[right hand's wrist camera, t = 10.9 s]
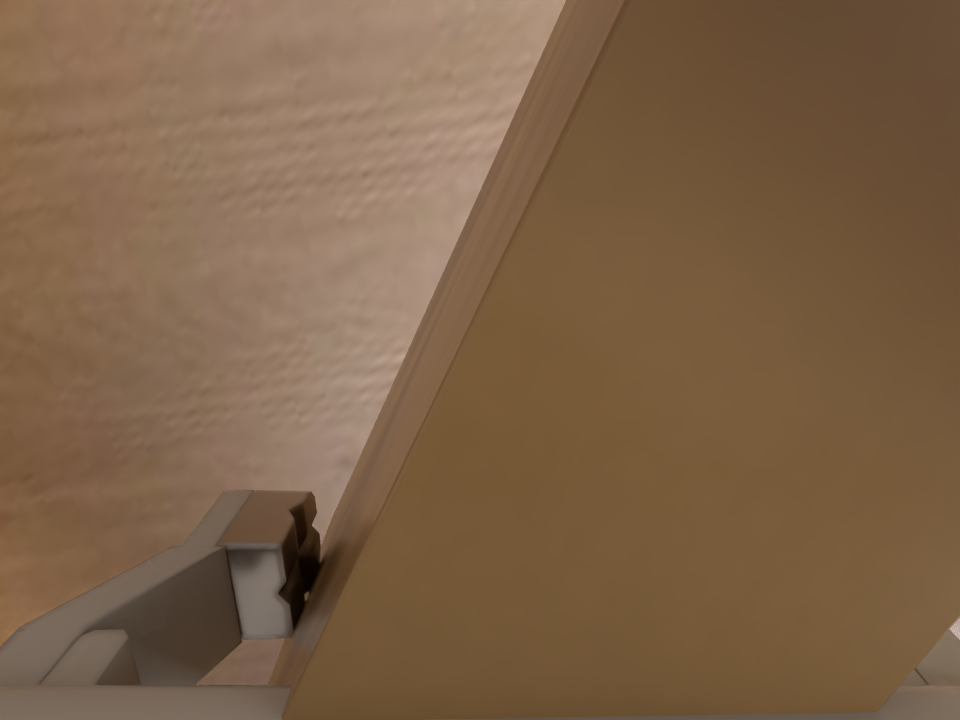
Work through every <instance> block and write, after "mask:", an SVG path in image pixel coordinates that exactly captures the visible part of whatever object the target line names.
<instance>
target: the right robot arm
mask: <svg viewBox="0 0 960 720" xmlns="http://www.w3.org/2000/svg"><path fill="white" fill-rule="evenodd" d="M316 513H317V510H316V503H315V497H314V495H313V494H312V492H310V491H260V490H257V491H254V490H229V491H226V492H223V493H222V494H221V495H220V497H219V498H218V499H217V501H216V502H215V503H214V505H213V506H212V507H211V509H210V510H209V511H208V513H207V514H206V515H205V517H204V518H203V519H202V521H201V522H200V523H199V525H198V526H197V527H196V529H195V530H194V531H193V533H192V534H191V535H190V537H189V538H188V539H187V541H186V542H185V543H184V545H183V546H173V547H171V548H169V549H167V550H165V551H163V552H162V553H160V554H158V555H156V556H154V557H152V558H150V559H148V560H146V561H144V562H143V563H141V564H139V565H137V566H135V567H133V568H131V569H129V570H127V571H125V572H124V573H122V574H120V575H118V576H116V577H114V578H112V579H110V580H108V581H106V582H105V583H103V584H101V585H99V586H97V587H95V588H93V589H91V590H89V591H87V592H86V593H84V594H82V595H80V596H78V597H76V598H74V599H72V600H70V601H68V602H67V603H65V604H63V605H61V606H59V607H57V608H55V609H53V610H51V611H49V612H48V613H46V614H44V615H42V616H40V617H38V618H36V619H34V620H32V621H30V622H29V623H27V624H25V625H23V626H21V627H19V628H18V630H17V631H16V632H15V633H14V634H13V635H12V636H11V637H10V638H9V639H8V640H7V641H6V642H5V643H4V644H3V645H2V646H1V647H0V720H283V719H282V714H283V711H284V708H285V705H286V702H287V699H288V695H289V692H290V688H291V685H195V684H196V683H197V682H198V681H199V680H201V679H202V678H203V677H204V676H205V675H206V674H207V673H208V672H209V671H211V670H212V669H213V668H214V667H215V666H216V665H217V664H218V663H219V662H220V661H222V660H223V659H224V658H225V657H226V656H227V655H228V654H229V653H230V652H232V651H233V650H234V649H235V648H236V647H237V646H238V645H239V644H240V643H241V642H242V640H241V639H270V638H291V637H292V635H293V632H294V630H295V627H296V624H297V622H298V619H299V616H300V614H301V611H302V609H303V606H304V603H305V595H304V594H306V593H307V592H308V591H309V589H310V587H311V584H312V582H313V580H314V577H315V574H316V572H317V569H318V566H319V564H320V536H319V533H318V532H317V531H316V530H315V529H314V527H313V526H312V523H313V520H314V518H315V516H316ZM444 720H960V640H959V639H958V638H957V637H956V636H955V635H954V634H953V633H952V632H951V631H950V630H948V631H947V632H946V633H945V634H944V636H943V637H942V638H941V639H940V640H939V641H938V643H937V644H936V645H935V646H934V647H933V648H932V649H931V651H930V652H929V653H928V654H927V655H926V656H925V657H924V659H923V660H922V661H921V662H920V663H919V664H918V665H917V667H916V668H915V669H914V670H913V671H912V672H911V673H910V675H909V676H908V677H907V678H906V679H905V680H904V681H903V683H902V684H901V685H900V686H899V687H898V688H897V690H896V691H895V692H894V693H893V694H892V695H891V696H890V698H889V699H888V700H887V701H886V702H885V703H884V704H883V706H882V707H881V708H880V709H879V710H878V711H876V712H841V713H784V714H728V715H671V716H614V717H557V718H501V719H444Z"/></svg>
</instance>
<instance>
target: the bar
mask: <svg viewBox="0 0 960 720" xmlns="http://www.w3.org/2000/svg"><path fill="white" fill-rule="evenodd" d="M304 595H305V603H304V606H303V609H302V611H301V614H300V616H299V619H298V622H297V624H296V627H295V630H294V632H293V635H292V637H291V638H286V639H285V642H284V644H283V647H282V649H281V652H280V654H279V657H278V660H277V662H276V665H275V667H274V670H273V673H272V675H271V678H270V680H269V683H268V685H291V688H290V692H289V695H288V699H287V702H286V705H285V708H284V711H283V714H282V719H283V720H444V719H501V718H557V717H614V716H671V715H728V714H784V713H841V712H876V711H878V710H879V709H880V708H881V707H882V706H883V704H884V703H885V702H886V701H887V700H888V699H889V698H890V696H891V695H892V694H893V693H894V692H895V691H896V690H897V688H898V687H899V686H900V685H901V684H902V683H903V681H904V680H905V679H906V678H907V677H908V676H909V675H910V673H911V672H912V671H913V670H914V669H915V668H916V667H917V665H918V664H919V663H920V662H921V661H922V660H923V659H924V657H925V656H926V655H927V654H928V653H929V652H930V651H931V649H932V648H933V647H934V646H935V645H936V644H937V643H938V641H939V640H940V639H941V638H942V637H943V636H944V634H945V633H946V632H947V631H948V630H949V629H950V628H951V626H952V625H953V624H954V623H955V622H956V621H957V620H958V618H959V617H960V0H566V2H565V5H564V7H563V9H562V11H561V13H560V16H559V18H558V20H557V22H556V24H555V27H554V29H553V31H552V33H551V36H550V38H549V40H548V42H547V44H546V47H545V49H544V51H543V53H542V55H541V58H540V60H539V62H538V64H537V66H536V69H535V71H534V73H533V75H532V78H531V80H530V82H529V84H528V86H527V89H526V91H525V93H524V95H523V97H522V100H521V102H520V104H519V106H518V108H517V111H516V113H515V115H514V117H513V120H512V122H511V124H510V126H509V128H508V131H507V133H506V135H505V137H504V139H503V142H502V144H501V146H500V148H499V151H498V153H497V155H496V157H495V159H494V162H493V164H492V166H491V168H490V170H489V173H488V175H487V177H486V179H485V181H484V184H483V186H482V188H481V190H480V193H479V195H478V197H477V199H476V201H475V204H474V206H473V208H472V210H471V212H470V215H469V217H468V219H467V221H466V223H465V226H464V228H463V230H462V232H461V235H460V237H459V239H458V241H457V243H456V246H455V248H454V250H453V252H452V254H451V257H450V259H449V261H448V263H447V265H446V268H445V270H444V272H443V274H442V277H441V279H440V281H439V283H438V285H437V288H436V290H435V292H434V294H433V296H432V299H431V301H430V303H429V305H428V307H427V310H426V312H425V314H424V316H423V319H422V321H421V323H420V325H419V327H418V330H417V332H416V334H415V336H414V338H413V341H412V343H411V345H410V347H409V349H408V352H407V354H406V356H405V358H404V361H403V363H402V365H401V367H400V369H399V372H398V374H397V376H396V378H395V380H394V383H393V385H392V387H391V389H390V391H389V394H388V396H387V398H386V400H385V403H384V405H383V407H382V409H381V411H380V414H379V416H378V418H377V420H376V422H375V425H374V427H373V429H372V431H371V434H370V436H369V438H368V440H367V442H366V445H365V447H364V449H363V451H362V453H361V456H360V458H359V460H358V462H357V464H356V467H355V469H354V471H353V473H352V476H351V478H350V480H349V482H348V484H347V487H346V489H345V491H344V493H343V495H342V498H341V500H340V502H339V504H338V506H337V509H336V511H335V513H334V515H333V518H332V520H331V522H330V525H329V528H328V530H327V533H326V535H325V538H324V540H323V543H322V546H321V548H320V564H319V566H318V569H317V572H316V574H315V577H314V580H313V582H312V584H311V587H310V589H309V591H308V592H307V593H306V594H304Z"/></svg>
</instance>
